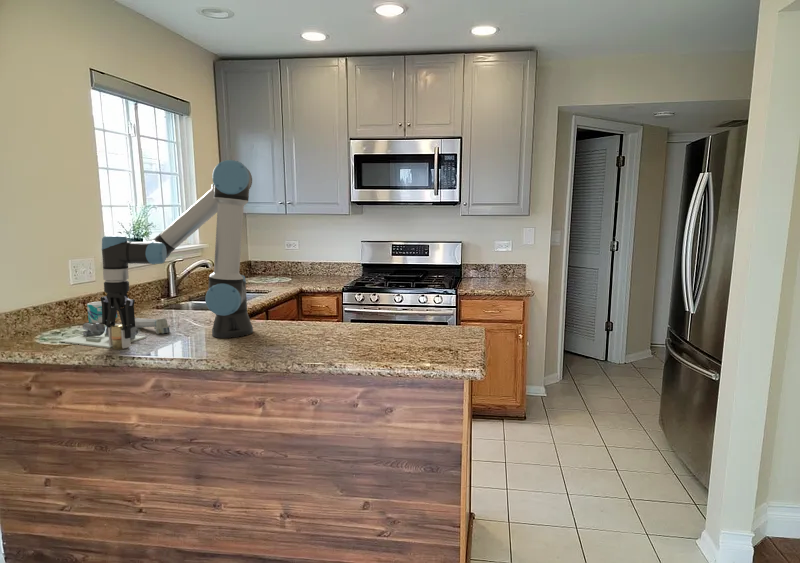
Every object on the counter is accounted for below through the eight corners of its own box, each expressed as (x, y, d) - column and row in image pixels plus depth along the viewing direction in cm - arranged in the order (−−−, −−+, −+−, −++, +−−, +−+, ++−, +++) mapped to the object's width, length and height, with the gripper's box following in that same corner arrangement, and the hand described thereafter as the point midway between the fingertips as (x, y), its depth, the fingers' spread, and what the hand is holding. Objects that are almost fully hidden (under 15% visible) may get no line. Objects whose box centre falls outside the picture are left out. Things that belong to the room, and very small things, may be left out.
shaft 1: (105, 336, 187) (104, 322, 186) (92, 338, 183) (90, 324, 182) (94, 332, 193) (92, 319, 192) (80, 335, 189) (79, 321, 188)
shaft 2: (106, 340, 180) (105, 326, 180) (115, 337, 185) (114, 323, 184) (132, 340, 179) (131, 326, 178) (140, 337, 184) (139, 323, 183)
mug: (98, 319, 223) (96, 301, 221) (122, 319, 221) (120, 301, 220) (84, 323, 215) (82, 304, 213) (108, 323, 213) (107, 304, 212)
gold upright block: (132, 346, 173) (130, 324, 172) (119, 350, 168) (117, 327, 167) (122, 345, 175) (120, 323, 174) (109, 349, 170) (107, 326, 169)
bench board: (145, 338, 185) (145, 334, 185) (109, 348, 171) (109, 343, 171) (97, 333, 195) (96, 329, 194) (59, 342, 181) (58, 338, 181)
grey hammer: (137, 317, 207) (171, 314, 194) (139, 332, 208) (173, 331, 194) (124, 319, 203) (158, 317, 189) (127, 335, 203) (161, 333, 190)
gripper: (145, 281, 168) (148, 346, 172) (107, 277, 175) (110, 340, 178) (126, 284, 161) (129, 352, 165) (87, 279, 168) (91, 345, 171)
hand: (119, 345), depth 171 cm, fingers open, 5 cm apart
